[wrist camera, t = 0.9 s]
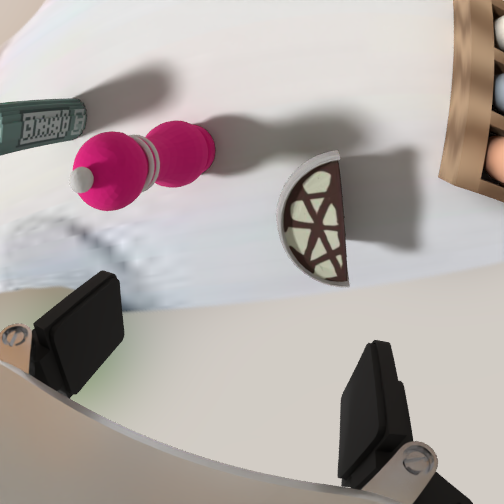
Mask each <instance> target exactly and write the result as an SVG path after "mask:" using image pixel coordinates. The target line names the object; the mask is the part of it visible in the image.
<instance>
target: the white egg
mask: <svg viewBox="0 0 504 504" xmlns="http://www.w3.org/2000/svg"><path fill="white" fill-rule="evenodd" d="M493 28H494V44H495V46H496V47H497V48H498V50H500V51H502V52H504V16H502V17H500V18H498V19H496V20H494V21H493Z"/></svg>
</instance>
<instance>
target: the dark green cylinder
mask: <svg viewBox="0 0 504 504" xmlns="http://www.w3.org/2000/svg"><path fill="white" fill-rule="evenodd" d="M83 104H84V103H80V100H77V99H45V100H29V101H17V102H6V103H0V155H4V154H8V153H12V152H16V151H20V150H25V149H29V148H34V147H38V146H43V145H48V144H53V143H58V142H64V141H70V140H73V139H75V138H77V137H78V136H80V134H82V130H83V129H85V124H86V119H87V115H85V114H86V109H85V106H83Z"/></svg>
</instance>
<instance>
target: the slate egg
mask: <svg viewBox="0 0 504 504" xmlns="http://www.w3.org/2000/svg"><path fill="white" fill-rule="evenodd" d="M492 103H493V105H494V106H495V108H496V109H497V110H498V112H500V113H501V114H502V115H504V73H502V74H497V75H495V76H494V83H493V99H492Z"/></svg>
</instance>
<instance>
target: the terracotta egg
mask: <svg viewBox="0 0 504 504" xmlns="http://www.w3.org/2000/svg"><path fill="white" fill-rule="evenodd" d="M483 167H484V170H485V171H486V173H487V174H488V175H489V176H490V177H491V178H493V179H495V180H497V181H500V182H502V183H504V136H492V137H490V138H489V139H488V142H487V148H486V154H485V159H484V165H483Z"/></svg>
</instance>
